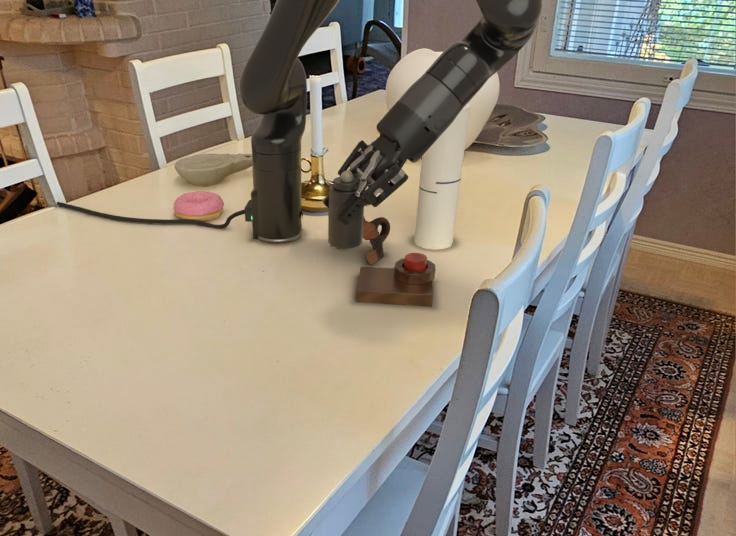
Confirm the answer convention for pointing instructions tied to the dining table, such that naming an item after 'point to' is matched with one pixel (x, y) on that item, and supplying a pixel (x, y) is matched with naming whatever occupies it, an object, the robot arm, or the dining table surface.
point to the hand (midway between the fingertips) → (334, 213)
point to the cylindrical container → (441, 186)
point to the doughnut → (198, 206)
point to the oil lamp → (211, 167)
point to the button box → (396, 285)
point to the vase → (417, 65)
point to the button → (415, 262)
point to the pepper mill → (337, 198)
